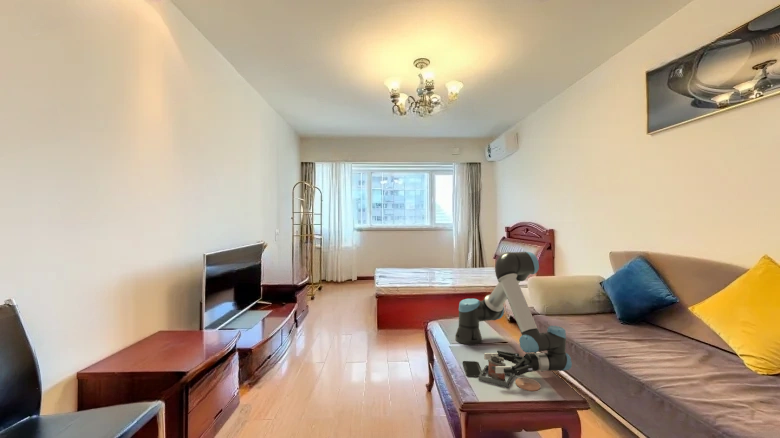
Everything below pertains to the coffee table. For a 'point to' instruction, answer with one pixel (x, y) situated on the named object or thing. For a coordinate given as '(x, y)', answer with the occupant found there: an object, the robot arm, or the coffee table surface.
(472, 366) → the phone
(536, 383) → the coaster
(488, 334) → the coffee table surface
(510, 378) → the holder frame
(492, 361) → the lighter
